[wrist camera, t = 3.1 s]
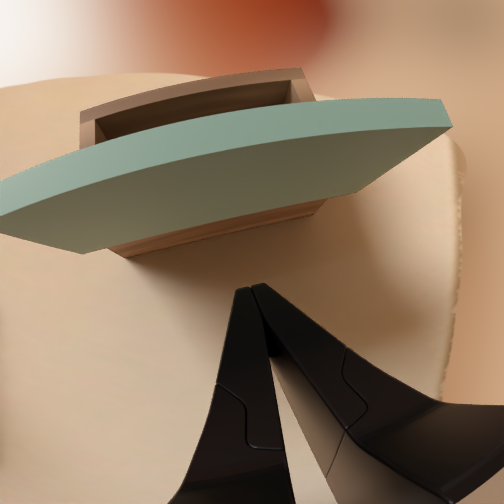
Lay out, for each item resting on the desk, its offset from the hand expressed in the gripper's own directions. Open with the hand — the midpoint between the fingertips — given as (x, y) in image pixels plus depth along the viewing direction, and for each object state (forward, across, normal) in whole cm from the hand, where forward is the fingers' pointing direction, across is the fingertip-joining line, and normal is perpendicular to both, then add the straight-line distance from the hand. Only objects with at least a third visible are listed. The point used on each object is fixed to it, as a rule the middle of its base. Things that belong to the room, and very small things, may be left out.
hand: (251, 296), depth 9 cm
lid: (+4, 0, -2) cm, 5 cm away
